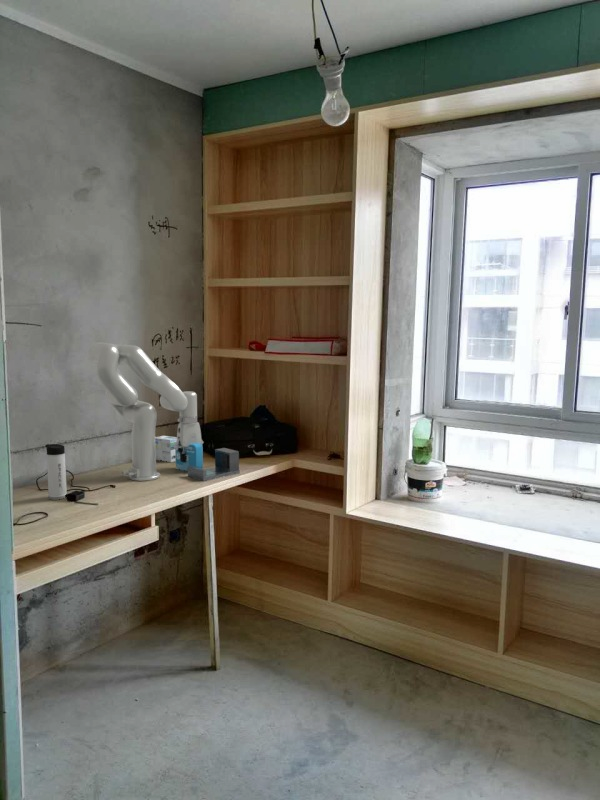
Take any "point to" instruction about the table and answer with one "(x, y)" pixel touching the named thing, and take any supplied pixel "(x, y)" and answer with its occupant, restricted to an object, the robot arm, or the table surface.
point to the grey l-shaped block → (218, 466)
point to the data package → (190, 457)
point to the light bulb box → (165, 448)
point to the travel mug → (56, 471)
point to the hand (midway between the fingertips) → (189, 460)
